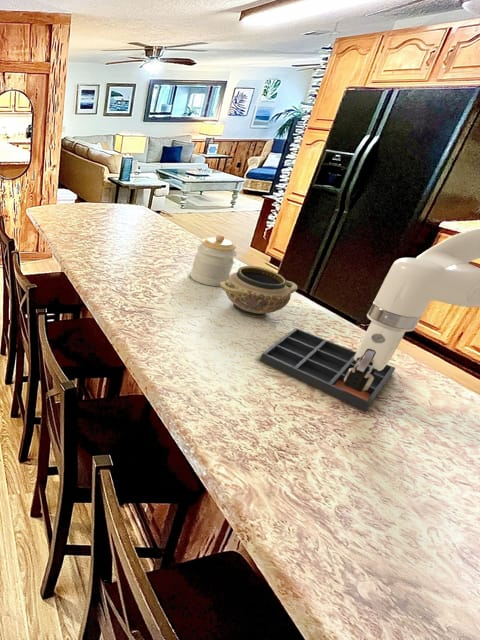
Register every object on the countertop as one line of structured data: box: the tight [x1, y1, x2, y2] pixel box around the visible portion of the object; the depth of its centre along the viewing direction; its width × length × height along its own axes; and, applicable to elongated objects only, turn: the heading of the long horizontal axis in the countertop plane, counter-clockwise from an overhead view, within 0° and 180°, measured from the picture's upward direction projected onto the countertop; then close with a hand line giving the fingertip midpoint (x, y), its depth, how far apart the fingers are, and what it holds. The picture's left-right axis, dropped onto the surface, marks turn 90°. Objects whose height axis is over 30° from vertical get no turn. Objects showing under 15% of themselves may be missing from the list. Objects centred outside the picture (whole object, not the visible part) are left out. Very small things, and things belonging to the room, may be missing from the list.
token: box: [344, 368, 374, 391], centre depth 89 cm, size 4×4×3 cm
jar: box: [190, 234, 237, 287], centre depth 143 cm, size 13×13×18 cm
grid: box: [259, 327, 396, 413], centre depth 99 cm, size 22×22×2 cm
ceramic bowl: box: [219, 265, 298, 318], centre depth 123 cm, size 24×18×15 cm
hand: (356, 382), depth 89 cm, fingers closed on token, 4 cm apart
